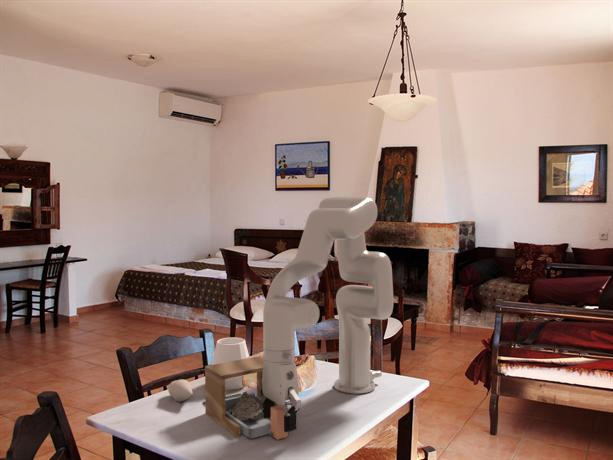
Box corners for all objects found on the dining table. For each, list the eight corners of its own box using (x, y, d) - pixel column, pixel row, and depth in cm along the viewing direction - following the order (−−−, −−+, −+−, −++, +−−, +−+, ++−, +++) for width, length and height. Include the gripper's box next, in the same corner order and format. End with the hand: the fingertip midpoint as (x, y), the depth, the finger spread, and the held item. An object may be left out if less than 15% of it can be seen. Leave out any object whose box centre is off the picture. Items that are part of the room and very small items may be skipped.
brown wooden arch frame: (247, 392, 165) (247, 350, 164) (294, 420, 144) (294, 372, 143) (194, 405, 155) (193, 359, 154) (236, 436, 134) (236, 384, 134)
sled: (256, 402, 156) (256, 378, 156) (305, 431, 137) (305, 403, 136) (214, 412, 149) (214, 387, 148) (258, 445, 129) (258, 415, 129)
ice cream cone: (192, 410, 151) (173, 402, 163) (207, 392, 154) (187, 386, 166) (177, 395, 149) (159, 389, 162) (192, 378, 152) (173, 372, 165)
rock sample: (214, 405, 145) (238, 381, 147) (226, 415, 150) (250, 392, 152) (235, 433, 138) (261, 407, 140) (247, 442, 144) (271, 417, 146)
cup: (225, 395, 163) (225, 348, 162) (201, 384, 173) (200, 340, 172) (261, 385, 172) (261, 341, 171) (236, 375, 182) (236, 333, 181)
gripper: (312, 360, 128) (312, 432, 129) (273, 344, 142) (273, 409, 143) (285, 366, 124) (285, 440, 125) (248, 349, 138) (248, 415, 139)
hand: (279, 423), depth 134 cm, fingers open, 9 cm apart
